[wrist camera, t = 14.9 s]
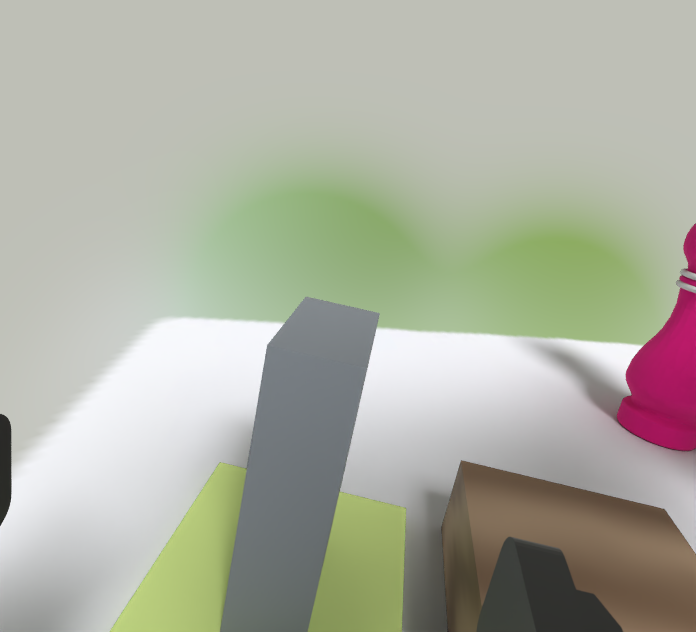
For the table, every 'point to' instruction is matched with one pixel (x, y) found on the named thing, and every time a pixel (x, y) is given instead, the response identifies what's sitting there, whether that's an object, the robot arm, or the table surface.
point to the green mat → (216, 555)
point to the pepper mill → (667, 372)
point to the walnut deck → (568, 548)
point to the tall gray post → (296, 465)
